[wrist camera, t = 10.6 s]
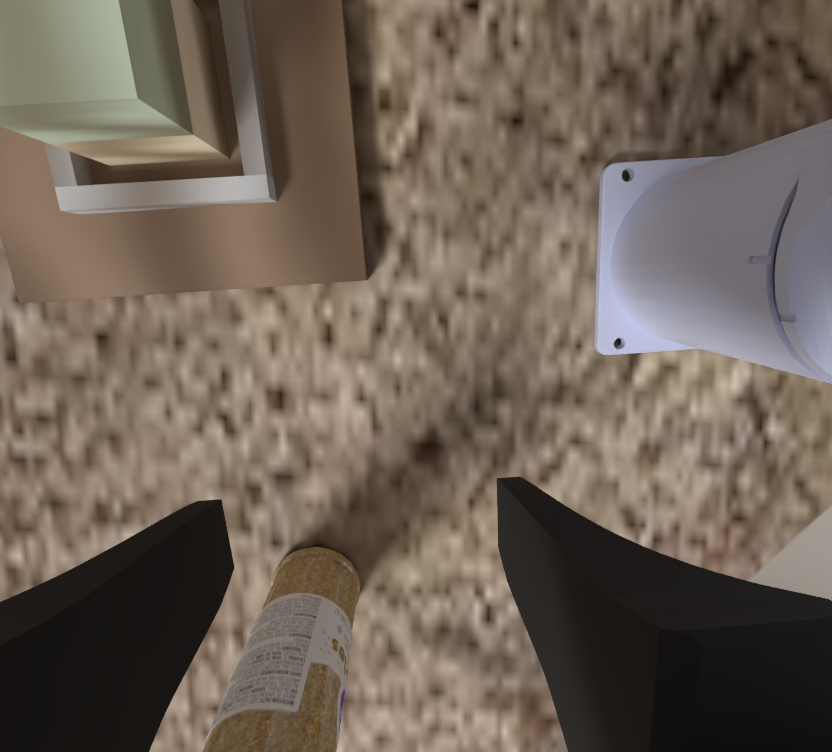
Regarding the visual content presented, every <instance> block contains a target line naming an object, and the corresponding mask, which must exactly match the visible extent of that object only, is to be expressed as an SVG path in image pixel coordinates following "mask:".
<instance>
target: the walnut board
mask: <svg viewBox="0 0 832 752" xmlns="http://www.w3.org/2000/svg"><path fill="white" fill-rule="evenodd" d="M193 1H194V3H195V4H196V5H197V6H198V8H199V9H200V10H201V12H202V13H203V14H204V16H205V17H206V18H207V20H208V21H209V26H210V33H211V39H212V46H213V53H214V59H215V66H216V72H217V79H218V85H219V92H220V98H221V105H222V111H223V118H224V125H225V131H226V138H227V144H228V151H229V157H230V159H215V160H198V161H181V162H165V163H148V164H131V165H114V166H110V165H107V164H104V163H101V162H98V161H96V160H93V159H90V158H87V157H85V156H82V155H79V154H76V153H73V152H71V151H68V150H65V149H62V148H59V147H57V146H54V145H51V144H48V143H46V142H43V141H40V140H37V139H34V138H32V137H29V136H26V135H23V134H20V133H18V132H15V131H12V130H9V129H7V128H4V127H1V126H0V236H1V239H2V243H3V247H4V250H5V254H6V257H7V261H8V264H9V268H10V272H11V275H12V279H13V282H14V286H15V289H16V293H17V297H18V300H19V303H29V302H44V301H59V300H74V299H89V298H104V297H120V296H135V295H150V294H165V293H180V292H195V291H211V290H226V289H241V288H256V287H271V286H286V285H302V284H317V283H332V282H347V281H362V280H368V271H367V259H366V248H365V237H364V225H363V214H362V203H361V191H360V180H359V169H358V157H357V146H356V134H355V123H354V112H353V100H352V89H351V78H350V66H349V55H348V43H347V32H346V21H345V9H344V0H193Z"/></svg>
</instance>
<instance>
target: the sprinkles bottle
mask: <svg viewBox="0 0 832 752" xmlns="http://www.w3.org/2000/svg"><path fill="white" fill-rule="evenodd" d="M359 594H360V580H359V576H358V573H357V572H356V569H355V568H354V567H353V565H352V563H351V562H350V561H349V560H348V559H346V558H345V557H344V556H343V555H342V554H340V553H338V552H336V551H333V550H330V549H327V548H322V547H311V548H304V549H300V550H298V551H295V552H293V553H291V554H290V555H288V556H286V557H285V558H284V559H283V560H282V561H281V562H280V564H279V565H278V567H277V568H276V570H275V572H274V574H273V578H272V584H271V589H270V591H269V593H268V596H267V598H266V601H265V603H264V606H263V609H262V610H261V612H260V613H259V615H258V617H257V619H256V621H255V623H254V626H253V628H252V630H251V633H250V635H249V637H248V640H247V642H246V644H245V647H244V649H243V652H242V654H241V656H240V659H239V661H238V663H237V666H236V668H235V671H234V673H233V675H232V678H231V680H230V683H229V685H228V688H227V690H226V692H225V695H224V697H223V700H222V702H221V704H220V707H219V709H218V712H217V714H216V717H215V719H214V721H213V724H212V726H211V729H210V731H209V734H208V736H207V739H206V741H205V745H204V750H203V752H336V750H337V745H338V738H339V731H340V723H341V716H342V709H343V700H344V694H345V687H346V680H347V673H348V666H349V659H350V652H351V645H352V627H353V621H354V613H355V606H356V604H357V602H358V598H359Z"/></svg>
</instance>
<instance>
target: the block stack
mask: <svg viewBox="0 0 832 752" xmlns="http://www.w3.org/2000/svg"><path fill="white" fill-rule="evenodd" d="M0 126H1V127H4V128H7V129H9V130H12V131H15V132H18V133H20V134H23V135H26V136H29V137H32V138H34V139H37V140H40V141H43V142H46V143H48V144H51V145H54V146H57V147H59V148H62V149H65V150H68V151H71V152H73V153H76V154H79V155H82V156H85V157H87V158H90V159H93V160H96V161H98V162H101V163H104V164H107V165H110V166H114V165H131V164H148V163H165V162H181V161H198V160H215V159H230V157H229V151H228V144H227V138H226V131H225V125H224V118H223V111H222V105H221V98H220V92H219V85H218V79H217V72H216V66H215V59H214V53H213V46H212V39H211V33H210V26H209V21H208V20H207V18H206V17H205V16H204V14H203V13H202V12H201V10H200V9H199V8H198V6H197V5H196V4H195V3H194V1H193V0H0Z"/></svg>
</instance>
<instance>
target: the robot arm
mask: <svg viewBox="0 0 832 752" xmlns="http://www.w3.org/2000/svg"><path fill="white" fill-rule="evenodd" d="M624 170H626V171H627V172H628V173H629V176H630V177H629V180H628V181H627V182H626V181H624V180H623V179H622V172H623V171H624ZM617 338H620V339H621V344H620V345H619V346H618V347H616V348H615V347H614V341H615V340H616V339H617ZM594 346H595V349H596V350H597V351H598V352H599V353H601V354H604V355H615V354H629V353H643V352H658V351H672V350H686V349H703V350H707V351H710V352H714V353H718V354H722V355H726V356H729V357H733V358H737V359H741V360H745V361H748V362H752V363H756V364H760V365H764V366H767V367H771V368H775V369H779V370H783V371H786V372H790V373H794V374H798V375H802V376H805V377H809V378H813V379H817V380H821V381H824V382H828V383H832V119H830V120H827V121H824V122H821V123H818V124H815V125H812V126H810V127H807V128H804V129H801V130H798V131H795V132H792V133H789V134H787V135H784V136H781V137H778V138H775V139H772V140H769V141H767V142H764V143H761V144H758V145H755V146H752V147H749V148H747V149H744V150H741V151H738V152H735V153H732V154H729V155H726V156H717V157H700V158H684V159H667V160H651V161H635V162H618V163H613V164H610V165H608V166H607V167H605V168H604V169H603V171H602V173H601V176H600V194H599V222H598V251H597V279H596V307H595V335H594ZM497 506H498V547H499V551H500V555H501V559H502V563H503V567H504V571H505V574H506V578H507V582H508V584H509V587H510V589H511V592H512V594H513V597H514V599H515V602H516V604H517V607H518V609H519V612H520V614H521V617H522V619H523V622H524V624H525V627H526V629H527V631H528V634H529V636H530V639H531V641H532V644H533V646H534V649H535V651H536V654H537V656H538V658H539V661H540V663H541V666H542V669H543V672H544V674H545V677H546V680H547V683H548V686H549V689H550V692H551V695H552V699H553V702H554V705H555V709H556V712H557V715H558V719H559V722H560V725H561V729H562V732H563V735H564V739H565V742H566V746H567V749H568V752H832V601H831V600H829V599H825V598H821V597H816V596H811V595H806V594H802V593H797V592H793V591H788V590H783V589H779V588H774V587H770V586H765V585H760V584H756V583H752V582H749V581H745V580H741V579H738V578H734V577H731V576H727V575H724V574H720V573H716V572H713V571H710V570H707V569H704V568H700V567H697V566H694V565H691V564H688V563H685V562H683V561H680V560H677V559H674V558H672V557H669V556H666V555H663V554H661V553H658V552H656V551H653V550H651V549H648V548H646V547H643V546H641V545H639V544H637V543H634V542H632V541H630V540H628V539H625V538H623V537H621V536H619V535H617V534H615V533H613V532H611V531H609V530H607V529H605V528H603V527H601V526H599V525H597V524H596V523H594V522H592V521H590V520H588V519H587V518H585V517H583V516H581V515H580V514H578V513H576V512H575V511H573V510H571V509H570V508H568V507H566V506H565V505H563V504H562V503H560V502H559V501H557V500H556V499H554V498H552V497H551V496H549V495H548V494H546V493H545V492H543V491H542V490H540V489H539V488H537V487H536V486H534V485H533V484H531V483H530V482H528V481H527V480H525V479H523V478H521V477H510V478H497ZM233 570H234V564H233V558H232V553H231V548H230V543H229V537H228V532H227V527H226V521H225V516H224V511H223V506H222V500H221V499H220V500H207V501H197V502H195V503H192V504H190V505H188V506H186V507H184V508H182V509H180V510H178V511H176V512H174V513H172V514H171V515H169V516H167V517H165V518H164V519H162V520H160V521H158V522H156V523H155V524H153V525H151V526H149V527H148V528H146V529H144V530H143V531H141V532H139V533H137V534H136V535H134V536H132V537H130V538H129V539H127V540H125V541H123V542H121V543H120V544H118V545H116V546H114V547H112V548H110V549H108V550H107V551H105V552H103V553H101V554H99V555H97V556H95V557H94V558H92V559H90V560H88V561H86V562H84V563H82V564H81V565H79V566H77V567H75V568H73V569H71V570H69V571H67V572H65V573H63V574H61V575H59V576H57V577H55V578H53V579H51V580H48V581H46V582H44V583H42V584H40V585H38V586H35V587H33V588H31V589H29V590H27V591H24V592H22V593H20V594H18V595H15V596H13V597H11V598H9V599H6V600H4V601H1V602H0V752H149V750H150V748H151V745H152V743H153V740H154V738H155V736H156V733H157V731H158V728H159V726H160V724H161V721H162V719H163V717H164V715H165V712H166V710H167V708H168V706H169V704H170V702H171V700H172V698H173V696H174V694H175V692H176V690H177V688H178V686H179V684H180V683H181V681H182V679H183V677H184V675H185V673H186V671H187V669H188V667H189V665H190V664H191V662H192V660H193V658H194V656H195V654H196V652H197V650H198V648H199V647H200V645H201V643H202V641H203V639H204V637H205V635H206V633H207V631H208V629H209V627H210V625H211V624H212V622H213V620H214V618H215V616H216V614H217V612H218V610H219V608H220V606H221V603H222V601H223V598H224V596H225V593H226V590H227V588H228V585H229V582H230V579H231V576H232V573H233Z"/></svg>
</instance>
